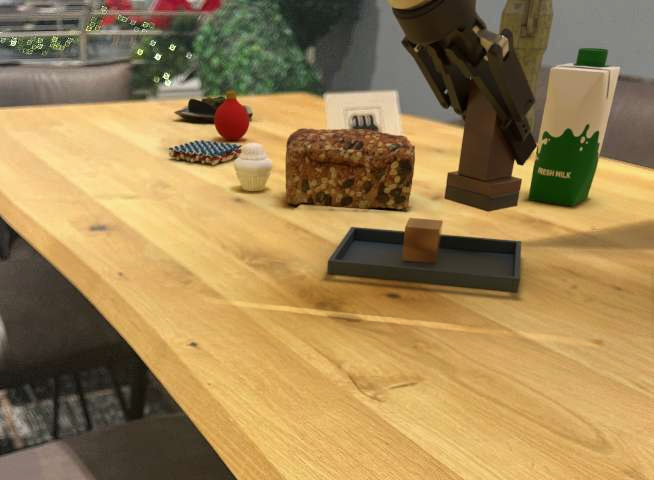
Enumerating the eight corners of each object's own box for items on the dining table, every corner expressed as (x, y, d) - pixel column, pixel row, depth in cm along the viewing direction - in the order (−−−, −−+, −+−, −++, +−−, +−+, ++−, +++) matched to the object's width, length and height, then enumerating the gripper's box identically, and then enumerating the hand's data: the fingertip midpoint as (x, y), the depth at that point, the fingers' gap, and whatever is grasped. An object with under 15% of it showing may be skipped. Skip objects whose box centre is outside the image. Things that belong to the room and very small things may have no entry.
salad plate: (179, 110, 186) (178, 88, 183) (252, 110, 187) (252, 89, 184) (172, 123, 170) (171, 100, 168) (252, 124, 171) (252, 101, 168)
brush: (517, 205, 89) (540, 80, 82) (488, 212, 87) (509, 83, 79) (472, 193, 94) (491, 73, 86) (443, 198, 91) (460, 75, 84)
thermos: (517, 147, 151) (556, -73, 131) (536, 160, 142) (580, -75, 122) (473, 147, 151) (505, -73, 131) (489, 160, 142) (525, -76, 121)
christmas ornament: (218, 144, 152) (216, 87, 146) (212, 137, 158) (210, 82, 152) (252, 142, 153) (252, 86, 148) (245, 136, 159) (244, 82, 153)
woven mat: (215, 166, 135) (214, 154, 134) (167, 159, 139) (166, 147, 138) (246, 156, 143) (246, 144, 141) (199, 150, 147) (199, 138, 146)
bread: (283, 208, 113) (284, 134, 107) (290, 190, 122) (291, 121, 116) (410, 212, 111) (418, 138, 106) (408, 194, 120) (415, 124, 114)
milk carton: (595, 197, 120) (630, 50, 108) (575, 209, 114) (610, 54, 102) (540, 189, 124) (569, 46, 112) (519, 200, 118) (547, 50, 106)
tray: (518, 258, 95) (521, 241, 93) (516, 297, 83) (519, 278, 82) (350, 243, 99) (351, 226, 98) (327, 278, 88) (327, 260, 87)
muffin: (227, 190, 121) (225, 142, 117) (245, 182, 125) (244, 136, 121) (262, 195, 119) (262, 146, 115) (278, 187, 123) (279, 139, 119)
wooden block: (438, 253, 94) (442, 220, 91) (435, 263, 91) (439, 229, 88) (406, 250, 95) (409, 217, 92) (401, 260, 91) (405, 226, 89)
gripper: (342, 10, 78) (437, 164, 95) (469, 20, 66) (551, 193, 84) (386, -53, 77) (473, 113, 95) (522, -54, 66) (593, 136, 83)
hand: (509, 151), depth 89 cm, fingers closed on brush, 4 cm apart
